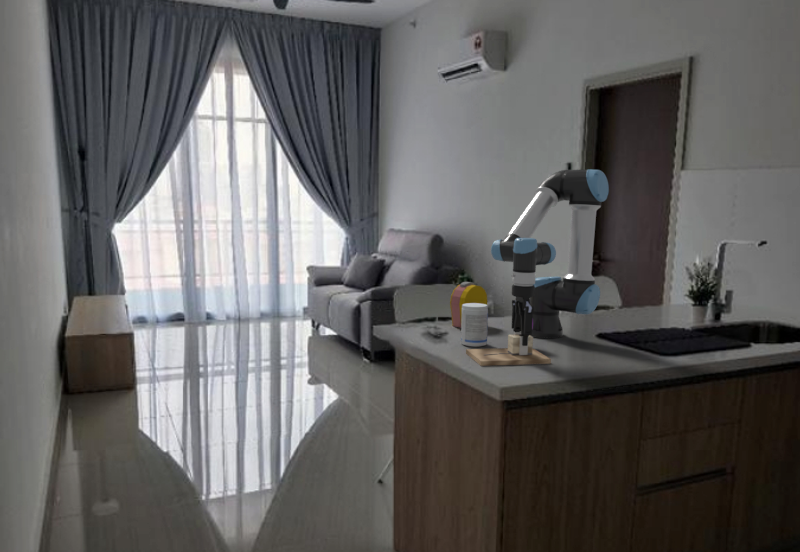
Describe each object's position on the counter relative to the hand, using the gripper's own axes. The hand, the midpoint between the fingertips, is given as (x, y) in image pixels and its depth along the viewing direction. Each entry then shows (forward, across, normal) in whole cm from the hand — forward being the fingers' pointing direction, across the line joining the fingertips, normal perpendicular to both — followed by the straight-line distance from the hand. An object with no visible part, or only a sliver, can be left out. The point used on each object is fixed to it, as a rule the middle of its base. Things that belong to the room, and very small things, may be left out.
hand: (520, 352), depth 213 cm
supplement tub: (+2, -21, -10) cm, 23 cm away
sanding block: (0, 0, 0) cm, 0 cm away
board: (+2, 0, -5) cm, 5 cm away
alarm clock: (+2, -54, -2) cm, 54 cm away
